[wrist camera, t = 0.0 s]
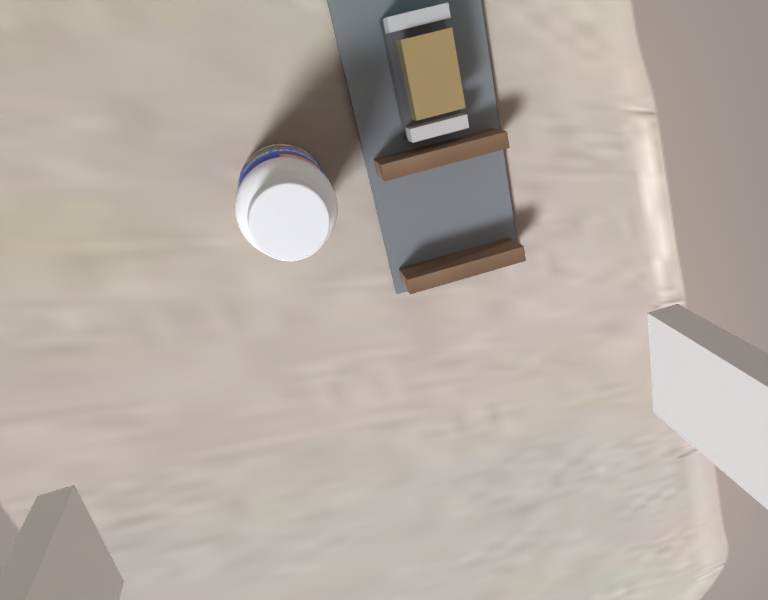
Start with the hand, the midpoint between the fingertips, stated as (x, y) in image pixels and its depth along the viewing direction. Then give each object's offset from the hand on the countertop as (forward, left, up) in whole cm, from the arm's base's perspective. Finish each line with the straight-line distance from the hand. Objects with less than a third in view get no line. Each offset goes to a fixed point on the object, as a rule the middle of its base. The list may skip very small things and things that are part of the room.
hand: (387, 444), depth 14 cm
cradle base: (-6, +9, -28) cm, 30 cm away
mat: (-5, +9, -28) cm, 30 cm away
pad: (-6, +9, -26) cm, 28 cm away
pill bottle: (-1, -1, -28) cm, 28 cm away
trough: (+3, +9, -28) cm, 29 cm away
